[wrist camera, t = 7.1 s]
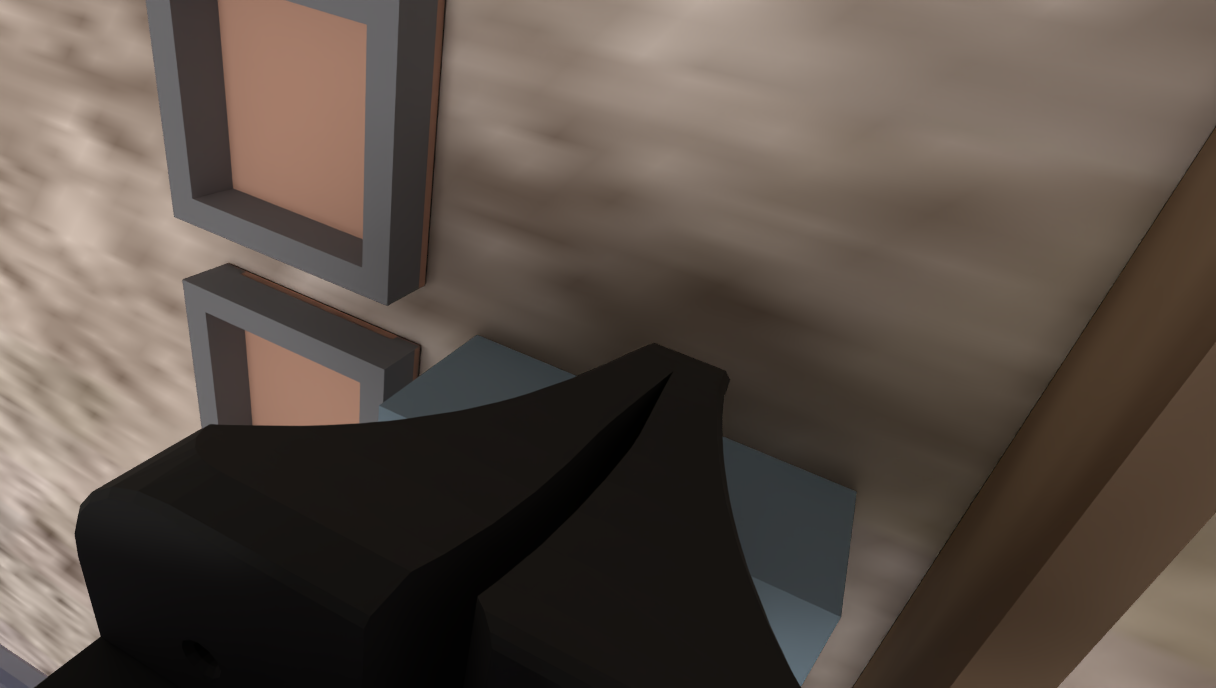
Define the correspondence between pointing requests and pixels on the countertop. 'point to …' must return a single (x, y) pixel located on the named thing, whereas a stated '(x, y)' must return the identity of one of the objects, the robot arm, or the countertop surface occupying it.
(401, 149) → the grey double frame
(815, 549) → the slate block
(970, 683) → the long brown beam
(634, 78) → the countertop surface
